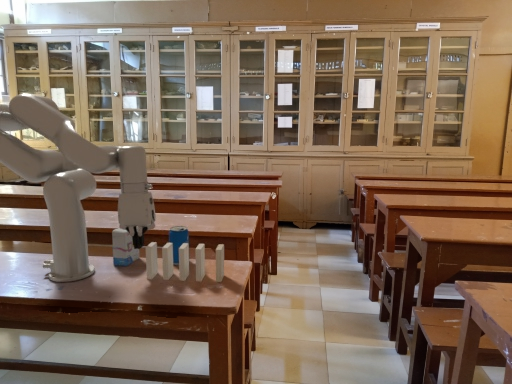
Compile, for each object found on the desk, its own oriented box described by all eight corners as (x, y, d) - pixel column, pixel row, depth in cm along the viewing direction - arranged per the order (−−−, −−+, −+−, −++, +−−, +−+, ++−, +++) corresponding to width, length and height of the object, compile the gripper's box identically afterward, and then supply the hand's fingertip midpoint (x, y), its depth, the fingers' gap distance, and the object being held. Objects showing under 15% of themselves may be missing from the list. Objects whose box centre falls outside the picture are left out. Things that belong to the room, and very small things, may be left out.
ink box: (126, 266, 114) (124, 231, 112) (112, 265, 115) (110, 230, 113) (140, 257, 122) (138, 225, 120) (127, 256, 123) (125, 224, 121)
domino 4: (196, 281, 103) (195, 249, 102) (199, 274, 108) (199, 243, 107) (201, 281, 103) (200, 249, 102) (204, 274, 108) (204, 243, 106)
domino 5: (216, 281, 103) (215, 249, 101) (219, 275, 108) (218, 244, 106) (221, 282, 103) (221, 249, 101) (224, 275, 108) (224, 244, 106)
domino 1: (146, 279, 104) (145, 247, 103) (153, 272, 109) (151, 242, 108) (152, 279, 104) (150, 247, 103) (157, 272, 109) (156, 242, 107)
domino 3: (179, 280, 104) (178, 248, 102) (184, 273, 109) (183, 243, 107) (184, 280, 104) (184, 248, 102) (189, 274, 108) (188, 243, 107)
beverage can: (182, 266, 114) (181, 231, 112) (166, 264, 116) (164, 229, 114) (192, 260, 120) (192, 226, 118) (176, 257, 122) (175, 224, 120)
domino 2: (163, 279, 104) (162, 247, 102) (168, 273, 109) (167, 242, 107) (168, 280, 104) (167, 248, 102) (173, 273, 109) (172, 242, 107)
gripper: (163, 186, 106) (166, 243, 109) (115, 186, 107) (120, 243, 110) (154, 190, 98) (158, 252, 101) (103, 190, 99) (109, 251, 102)
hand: (138, 247), depth 105 cm, fingers closed
